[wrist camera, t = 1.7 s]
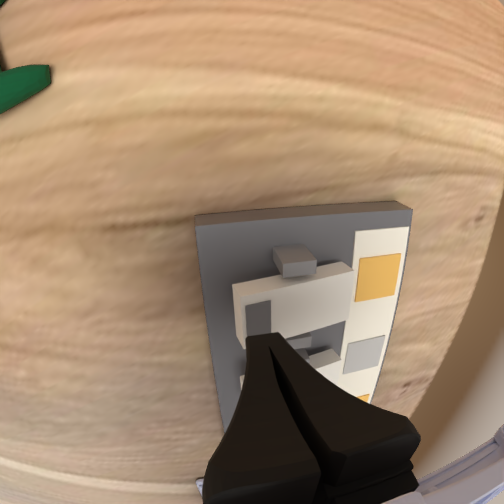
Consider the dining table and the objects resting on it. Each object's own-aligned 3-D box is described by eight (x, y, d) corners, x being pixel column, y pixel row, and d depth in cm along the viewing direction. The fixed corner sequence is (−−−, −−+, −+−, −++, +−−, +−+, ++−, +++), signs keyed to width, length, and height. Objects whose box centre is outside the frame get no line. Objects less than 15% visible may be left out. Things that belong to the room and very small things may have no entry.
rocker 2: (326, 381, 20) (336, 393, 19) (242, 408, 19) (249, 422, 18) (331, 348, 19) (342, 360, 18) (239, 376, 17) (247, 391, 16)
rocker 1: (337, 308, 18) (349, 320, 17) (236, 335, 16) (244, 350, 15) (341, 261, 17) (355, 271, 16) (232, 284, 15) (240, 297, 14)
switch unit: (355, 414, 26) (370, 444, 23) (226, 440, 25) (232, 476, 21) (396, 201, 18) (433, 220, 15) (194, 215, 17) (195, 241, 13)
